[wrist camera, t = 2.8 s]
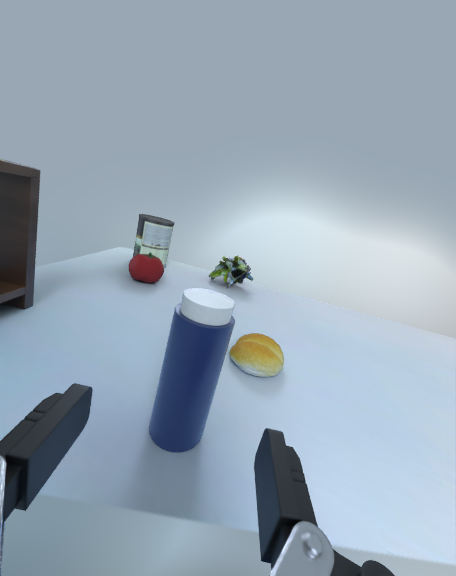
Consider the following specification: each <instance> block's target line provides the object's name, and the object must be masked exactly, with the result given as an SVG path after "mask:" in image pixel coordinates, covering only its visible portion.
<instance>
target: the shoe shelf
mask: <svg viewBox="0 0 456 576" xmlns="http://www.w3.org/2000/svg"><path fill="white" fill-rule="evenodd" d="M39 183H40V170H39V169H36V168H32V167H28V166H25V165H21V164H17V163H14V162H10V161H6V160H3V159H0V303H3V304H7V305H11V306H15V307H19V308H23V309H26V308H28V307H31V306H33V293H34V275H35V257H36V256H35V255H36V239H37V221H38V203H39V185H40V184H39Z"/></svg>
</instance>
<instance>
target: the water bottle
mask: <svg viewBox="0 0 456 576" xmlns="http://www.w3.org/2000/svg"><path fill="white" fill-rule="evenodd" d="M234 306H235V303H234V301H233V300H232V299H231V298H229V297H228V296H226V295H224V294H221V293H219V292H216V291H212V290H208V289H202V288H190V289H187V290H185V291H184V293H183V297H182V302H181V303H180V304H178V305H177V306H176V307H175V311H174V315H173V320H172V324H171V329H170V334H169V338H168V343H167V347H166V352H165V357H164V361H163V366H162V370H161V375H160V380H159V384H158V389H157V393H156V398H155V402H154V407H153V412H152V416H151V421H150V426H149V432H150V436H151V438H152V440H153V441H154V442H155V443H156V444H157V445H158V446H159V447H160V448H162V449H164V450H167V451H170V452H184V451H187V450H190V449H192V448H193V447H195V446H196V445H197V444H198V443H199V441H200V439H201V437H202V434H203V430H204V427H205V423H206V420H207V416H208V413H209V409H210V406H211V403H212V399H213V396H214V392H215V389H216V385H217V382H218V378H219V375H220V372H221V368H222V365H223V361H224V358H225V354H226V351H227V348H228V344H229V341H230V337H231V334H232V330H233V327H234V323H235V320H234V318H233V316H232V313H233V310H234Z"/></svg>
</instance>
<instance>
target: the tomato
mask: <svg viewBox="0 0 456 576" xmlns="http://www.w3.org/2000/svg"><path fill="white" fill-rule="evenodd" d="M129 272H130V274H131V276H132V277H133V278H134V279H136V280H140V281H143V282H146V283H154V282H157V281H158V280H159V279H160V278H161V277H162V275H163V273H164V266H163V263H162V261H161V260H160V259H159V258H157V257H156V256H154V255H152V253H151V252H149V254H138V255H135V256H134V257H133V258H132V259H131V260H130V263H129Z"/></svg>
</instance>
